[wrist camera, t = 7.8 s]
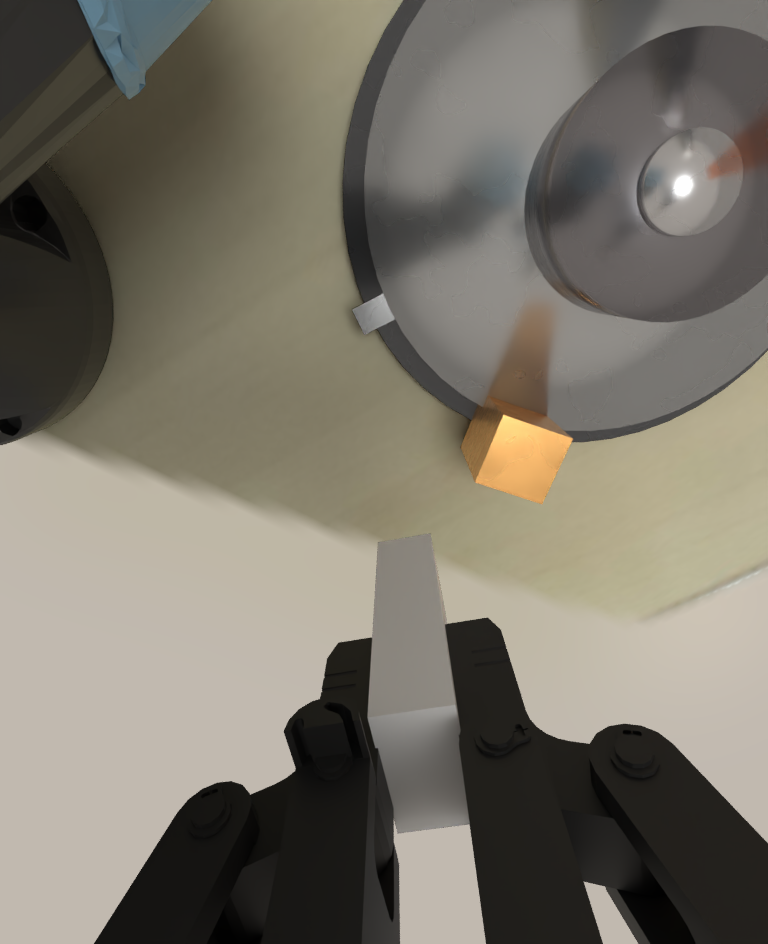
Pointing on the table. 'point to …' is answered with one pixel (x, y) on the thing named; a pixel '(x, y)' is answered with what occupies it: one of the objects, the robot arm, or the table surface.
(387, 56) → the turntable base
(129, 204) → the table surface
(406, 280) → the platter
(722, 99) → the cover
